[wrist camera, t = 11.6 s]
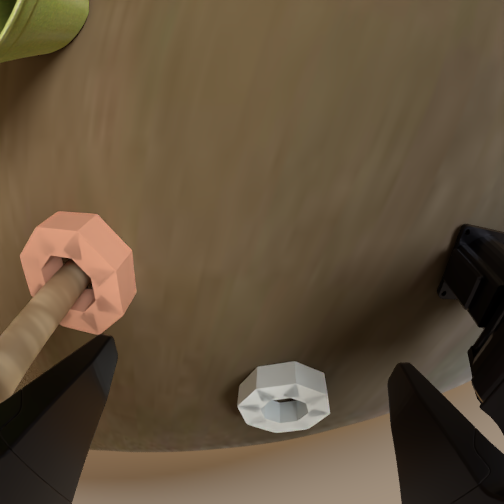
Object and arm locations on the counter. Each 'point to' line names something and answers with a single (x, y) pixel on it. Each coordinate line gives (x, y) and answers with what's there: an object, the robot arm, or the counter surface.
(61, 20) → the plant pot
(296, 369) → the bead
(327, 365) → the counter surface
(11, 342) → the dowel
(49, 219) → the bead ring
